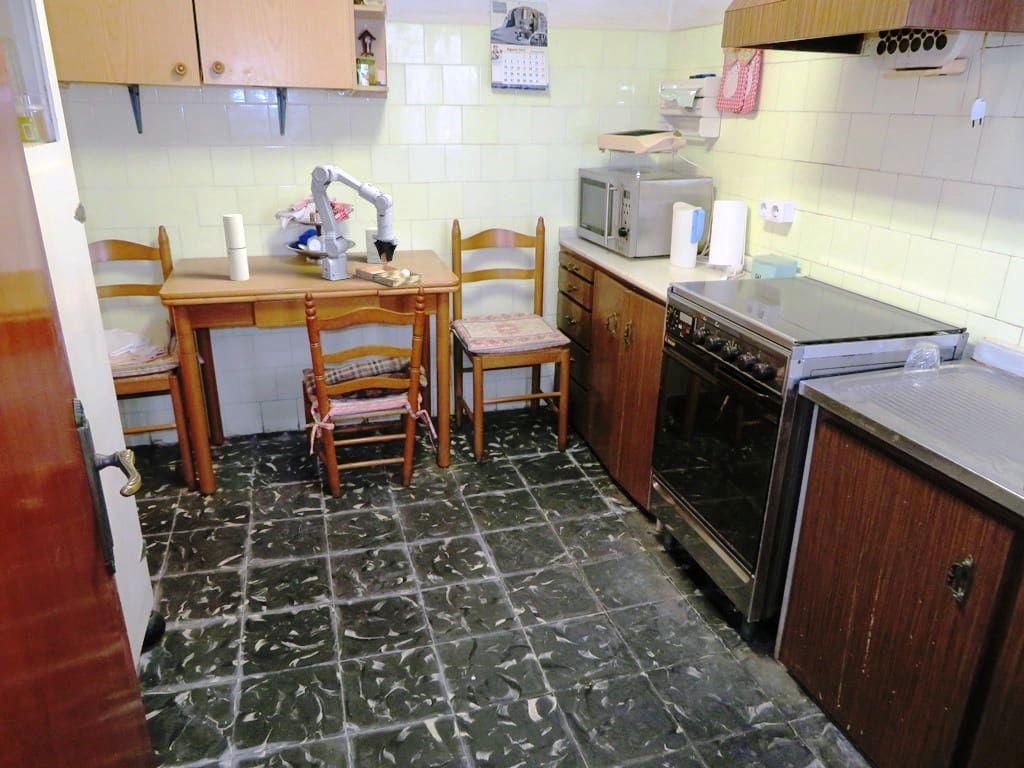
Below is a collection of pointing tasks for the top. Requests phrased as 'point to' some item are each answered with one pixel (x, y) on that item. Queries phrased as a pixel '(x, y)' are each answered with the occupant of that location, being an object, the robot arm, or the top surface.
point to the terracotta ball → (384, 258)
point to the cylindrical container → (236, 247)
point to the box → (396, 278)
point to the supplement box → (372, 246)
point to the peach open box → (374, 271)
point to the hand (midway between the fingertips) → (386, 260)
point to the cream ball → (404, 273)
